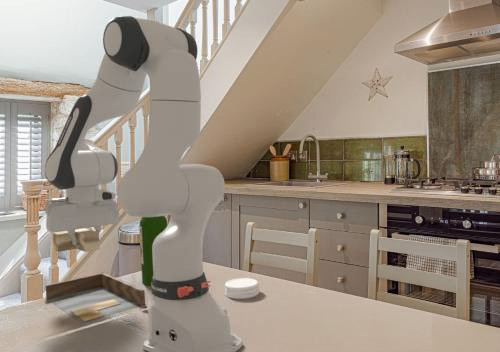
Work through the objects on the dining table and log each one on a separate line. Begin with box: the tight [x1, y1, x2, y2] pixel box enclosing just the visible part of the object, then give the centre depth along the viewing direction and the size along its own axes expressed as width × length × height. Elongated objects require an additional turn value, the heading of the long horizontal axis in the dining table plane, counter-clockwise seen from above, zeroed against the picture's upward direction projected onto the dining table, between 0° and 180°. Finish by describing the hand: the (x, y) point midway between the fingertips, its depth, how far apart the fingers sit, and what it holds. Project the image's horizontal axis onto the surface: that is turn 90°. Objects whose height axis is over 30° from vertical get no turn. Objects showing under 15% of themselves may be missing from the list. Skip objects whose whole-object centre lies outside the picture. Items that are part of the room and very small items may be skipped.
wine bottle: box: [138, 216, 169, 286], centre depth 138 cm, size 9×9×32 cm
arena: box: [45, 272, 146, 324], centre depth 122 cm, size 27×18×5 cm, turn 42°
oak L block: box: [52, 228, 100, 253], centre depth 123 cm, size 11×9×5 cm
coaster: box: [224, 277, 260, 300], centre depth 125 cm, size 10×10×4 cm
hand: (85, 243), depth 124 cm, fingers closed on oak L block, 4 cm apart
